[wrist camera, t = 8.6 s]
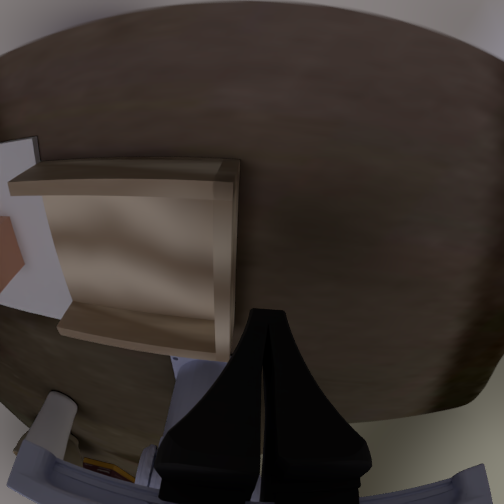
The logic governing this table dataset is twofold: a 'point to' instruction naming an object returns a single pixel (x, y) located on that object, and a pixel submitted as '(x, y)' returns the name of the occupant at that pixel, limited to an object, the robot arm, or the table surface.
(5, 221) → the block
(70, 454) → the planter bowl
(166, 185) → the open box
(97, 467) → the supplement box
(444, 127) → the table surface
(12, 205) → the mat
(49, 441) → the drinking glass
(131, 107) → the table surface
